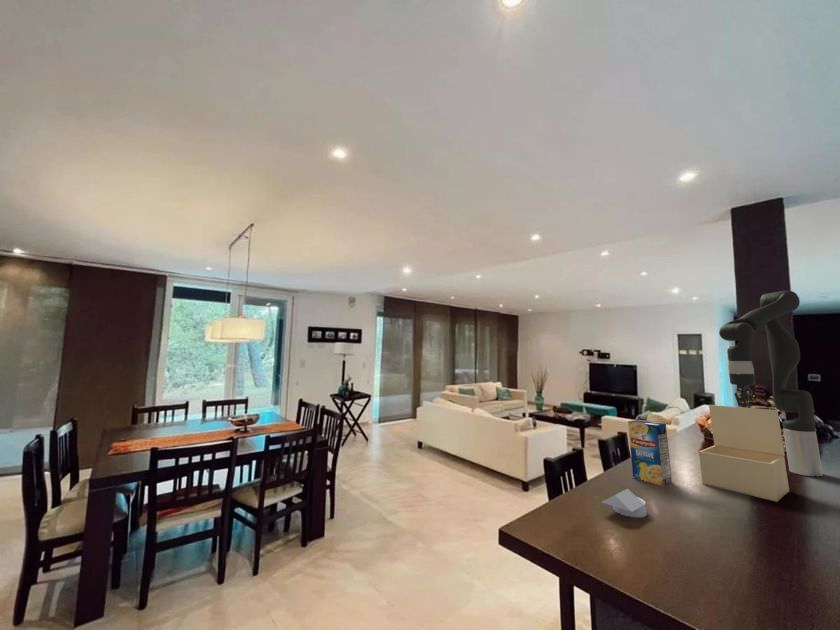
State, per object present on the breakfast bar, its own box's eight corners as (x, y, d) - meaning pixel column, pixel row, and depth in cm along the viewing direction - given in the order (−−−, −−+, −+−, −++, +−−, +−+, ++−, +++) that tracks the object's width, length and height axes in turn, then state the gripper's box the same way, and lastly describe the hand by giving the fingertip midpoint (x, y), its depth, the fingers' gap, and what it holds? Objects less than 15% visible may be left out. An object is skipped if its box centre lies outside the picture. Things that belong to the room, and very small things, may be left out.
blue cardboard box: (663, 486, 130) (657, 425, 133) (632, 478, 139) (627, 421, 142) (672, 482, 133) (666, 423, 136) (642, 475, 143) (637, 419, 146)
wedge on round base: (633, 524, 101) (651, 512, 108) (630, 499, 102) (649, 489, 109) (601, 513, 108) (621, 503, 115) (599, 490, 109) (619, 481, 116)
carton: (718, 476, 140) (714, 445, 141) (789, 491, 123) (784, 456, 125) (702, 484, 131) (698, 451, 133) (776, 501, 114) (771, 463, 116)
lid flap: (714, 445, 141) (720, 442, 145) (784, 455, 125) (788, 452, 128) (708, 405, 143) (714, 403, 147) (776, 410, 126) (781, 407, 130)
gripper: (735, 372, 147) (740, 414, 144) (723, 372, 139) (728, 417, 137) (759, 372, 140) (765, 417, 138) (748, 373, 133) (754, 419, 131)
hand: (746, 417), depth 137 cm, fingers closed
